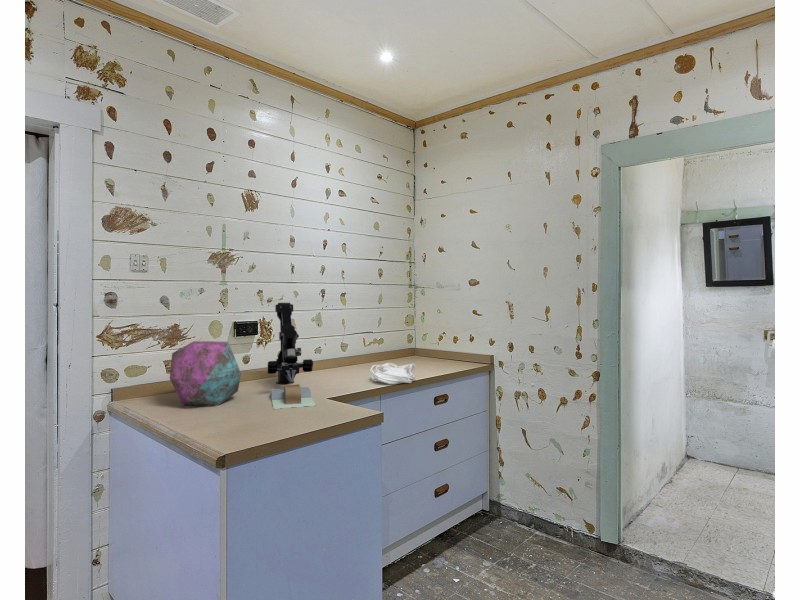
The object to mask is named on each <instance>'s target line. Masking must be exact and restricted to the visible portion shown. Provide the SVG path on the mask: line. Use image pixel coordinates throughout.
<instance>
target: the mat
mask: <svg viewBox="0 0 800 600" xmlns="http://www.w3.org/2000/svg"><path fill="white" fill-rule="evenodd" d="M271 403H272V408H273V410H281V409H280V408H283V409H292V408H291V407H297V408H304V407H303V406H310V407H316V406H315V405H316V403H315V401H314V400H313V398H312V396H311V397H309V398H301V404H289V405H286V404H285V401H284V399H280V400H271Z"/></svg>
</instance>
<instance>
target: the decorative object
mask: <svg viewBox="0 0 800 600" xmlns="http://www.w3.org/2000/svg"><path fill="white" fill-rule="evenodd" d="M241 376H242V372H241V369H240V367H239V365H238V362H237V360H236V358H235V355H234V352H233V350H232V348H231V344H230V343H229V341H212V340H211V341H209V340H208V341H205V340H204V341H202V340H201V341H198V340H194V341H192V342H190V343H188V344H186V345H185V346H184V345H183V346H182V347H181V348H179V349H177V350H175V351H173V352H172V354H171V364H170V372H169V380H170V382H171V384H172V386H173V388H174V389H175V390H174V391H175V392H176V394H177V396H178V398H179V400H180V402H181V404H182V405H183V404H190V405H189V406H208V405H219V406H220V405H221V404H223V403H224V402H225V401H227V400H228V399H230V398H231V397H232V396H234V395H235V394H236V393H238V392H239V387H240V381H241Z"/></svg>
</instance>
